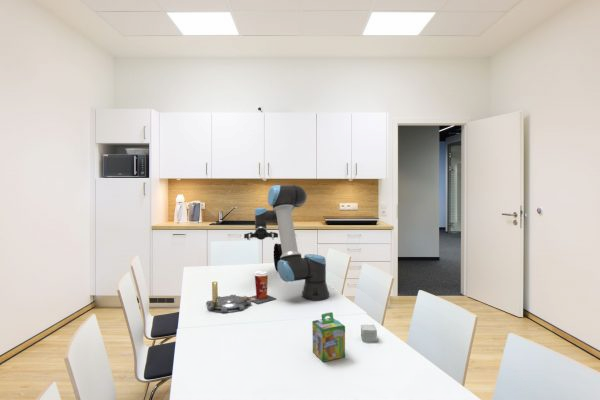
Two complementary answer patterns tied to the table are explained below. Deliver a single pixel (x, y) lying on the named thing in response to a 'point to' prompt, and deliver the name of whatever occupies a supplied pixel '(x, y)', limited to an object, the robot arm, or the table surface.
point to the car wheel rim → (277, 254)
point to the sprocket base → (228, 310)
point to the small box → (368, 333)
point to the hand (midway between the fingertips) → (261, 237)
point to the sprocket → (226, 301)
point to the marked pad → (259, 301)
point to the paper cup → (261, 284)
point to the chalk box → (328, 338)
